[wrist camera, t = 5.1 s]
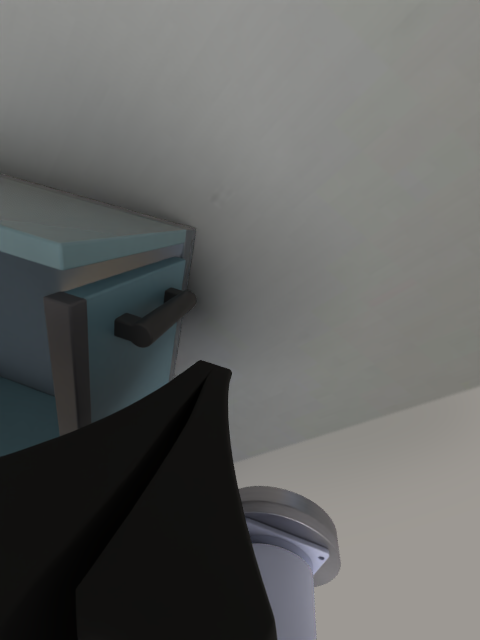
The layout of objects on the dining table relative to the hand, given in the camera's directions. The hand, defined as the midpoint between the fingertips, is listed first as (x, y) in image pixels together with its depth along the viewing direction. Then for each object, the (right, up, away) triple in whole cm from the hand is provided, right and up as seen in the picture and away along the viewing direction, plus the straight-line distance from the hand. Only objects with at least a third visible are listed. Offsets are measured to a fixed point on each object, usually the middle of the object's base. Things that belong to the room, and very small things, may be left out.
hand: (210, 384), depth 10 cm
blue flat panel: (-2, 0, +4) cm, 4 cm away
